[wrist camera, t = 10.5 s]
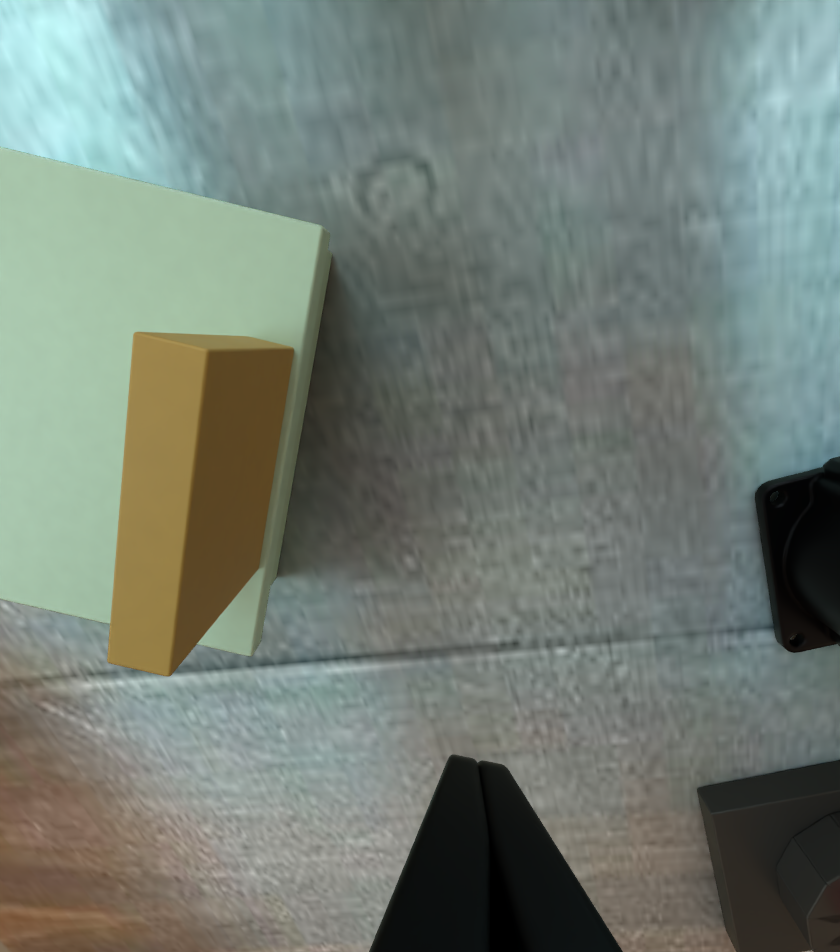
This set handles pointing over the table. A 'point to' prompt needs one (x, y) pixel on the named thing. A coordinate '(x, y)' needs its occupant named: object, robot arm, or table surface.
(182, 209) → the chest lid
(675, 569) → the table surface
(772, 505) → the robot arm
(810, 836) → the block
